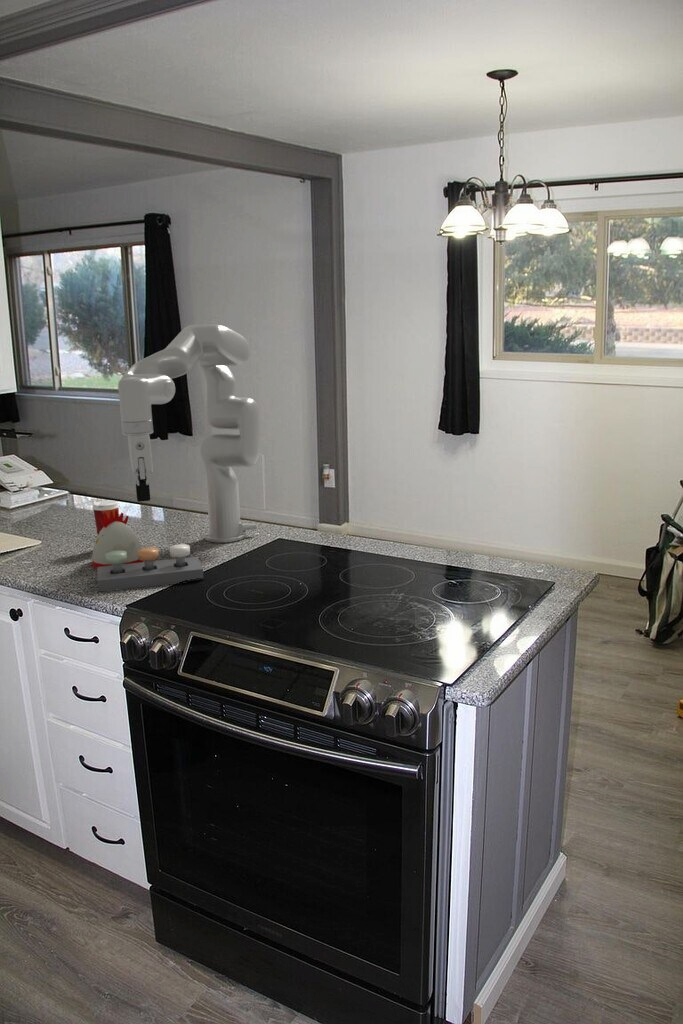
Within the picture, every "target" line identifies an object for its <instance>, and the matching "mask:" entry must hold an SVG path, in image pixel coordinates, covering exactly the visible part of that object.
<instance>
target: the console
mask: <svg viewBox="0 0 683 1024" xmlns="http://www.w3.org/2000/svg"><path fill="white" fill-rule="evenodd" d="M185 564H186V565H185V566H183V567H177V566H176V558H172V559H170V558H169V559H162V560H160V559H159V560H154V569H153V570H145V565H144V562H141V563H132V564H122V571H123V572H122V573H117V574H114V573H113V568H112V566H103V567H97V568H96V569H97V570H96V571H97V572H96V573H97V574H96V575H97V587H98V592H99V591H103V592H108V591H107V590H112V591H117V590H116V589H121V590H128V588H130V589H137V588H139V589H140V588H145V587H155V586H165V585H172V584H179V583H178V582H182V581H185V580H190V579H196V578H204V568H203V566H202V563H201V561H200V558H199V556H191V557H189V556H188V557H185Z"/></svg>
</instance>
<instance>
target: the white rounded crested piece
mask: <svg viewBox="0 0 683 1024" xmlns="http://www.w3.org/2000/svg"><path fill="white" fill-rule="evenodd" d="M129 517H130V516H128V515H126V517H125V519H124V512H121V513H119V514H118V511H117V510H115V516H113V512H112V511H110V517H109V519H108V517H107V515H106V513H105V512H104V520H102V519H101V518H99V520H100V521H101V523H102V525H103V526H104V527H103V528H102V530H101V531H100V532H99V534H97V536H96V538H95V541H94V545H93V550H92V554H91V563H92V567H93V568H95V569H97V567H103V566H112V564H108V563H106V555H105V554H106V553H108V552H111V551H126V553H127V561H126V562H123V563H122V564H132V563H141V562H144V561H143V560H139V559H138V550H139V549H142V548H143V547H142V544H141V542H140V540H139V538H138V536H137V534H136V533H135V532H134V530H133V529H132V528H131V527H130V526H129V525H128V521H129Z"/></svg>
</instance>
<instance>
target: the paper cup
mask: <svg viewBox="0 0 683 1024" xmlns="http://www.w3.org/2000/svg"><path fill="white" fill-rule="evenodd" d="M92 505H93V506H92V510H93V514H94V520H95V527H96V528H95V529H96V534H97V535H98V534H99V532H100V531H101V530H102V528H103V527H104V526H103V525H102V523H101V521H100V520H99V518H101V519H102V520H104V512H105V513H106V515H107V517H108V519H109V517H110V511H112V512H113V516H115V510H117V511H118V514H119V515H120V513H119V512H120V511H119V508H120V505H119V503H118V501H116V500H101V501H96V502H93V504H92Z"/></svg>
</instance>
